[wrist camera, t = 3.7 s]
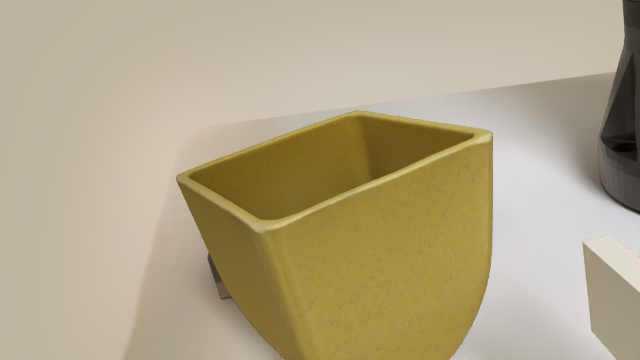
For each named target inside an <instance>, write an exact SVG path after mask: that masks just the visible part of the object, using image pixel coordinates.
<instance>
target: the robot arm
mask: <svg viewBox="0 0 640 360" xmlns="http://www.w3.org/2000/svg"><path fill="white" fill-rule="evenodd" d="M623 14H624V31H625V38H624V46H623V50H622V54H621V57H620V61H619V65H618V68H617V72H616V75H615V79H614V83H613V86H612V90H611V94H610V97H609V101H608V105H607V108H606V112H605V115H604V119H603V123H602V126H601V130H600V134H599V138H598V157H599V169H600V179H601V183H602V185H603V187H604V188H605V190H606V191H607V192H608V193H609V194H610V195H611V196H613V197H614V198H615V199H617V200H618V201H620V202H621V203H623V204H625V205H627V206H629V207H631V208H633V209H635V210H638V211H640V0H623ZM583 252H584V262H585V271H586V281H587V291H588V301H589V310H590V320H591V330H592V332H593V333H594V334H595V335H596V336H597V338H598V339H599V340H600V341H601V342H602V343H603V344H604V346H605V347H606V348H607V349H608V350H609V351H610V352H611V354H612V355H613V356H614V357H615V358H616V359H617V360H640V257H639V256H638V255H636V254H635V253H634V252H633V251H631V250H630V249H629V248H627V247H626V246H625V245H624V244H622V243H621V242H620V241H619V240H617V239H616V238H615V237H613V236H612V235H609V236H604V237H600V238H596V239H592V240H588V241H584V242H583Z"/></svg>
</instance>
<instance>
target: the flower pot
mask: <svg viewBox="0 0 640 360" xmlns="http://www.w3.org/2000/svg"><path fill="white" fill-rule="evenodd" d="M176 180H177V183H178V185H179V187H180V189H181V191H182V194H183V196H184V198H185V200H186V202H187V205H188V207H189V209H190V211H191V213H192V216H193V218H194V220H195V222H196V225H197V227H198V229H199V231H200V233H201V236H202V238H203V240H204V242H205V244H206V247H207V249H208V251H209V253H210V255H211V258H212V260H213V262H214V265H215V267H216V269H217V271H218V273H219V275H220V277H221V279H222V281H223V283H224V285H225V287H226V288H227V290H228V292H229V293H230V295H231V296H232V298H233V300H234V301H235V302H236V304H237V305H238V307H239V308H240V310H241V311H242V312H243V314H244V315H245V316H246V318H247V319H248V320H249V321H250V323H251V324H252V325H253V326H254V327H255V328H256V330H257V331H258V332H259V333H260V334H261V335H262V336H263V337H264V338H265V339H266V340H267V342H268V343H269V344H270V345H271V346H272V347H273V348H274V349H275V350H276V351H277V352H278V353H280V354H281V355H282V356H283V357H284V358H285V359H286V360H449V359H450V358H451V357H452V356H453V355H454V354H455V352H456V351H457V349H458V348H459V346H460V345H461V343H462V341H463V340H464V338H465V337H466V335H467V333H468V331H469V329H470V328H471V326H472V324H473V322H474V320H475V317H476V315H477V313H478V310H479V308H480V305H481V303H482V300H483V297H484V294H485V290H486V286H487V282H488V278H489V272H490V266H491V255H492V219H493V133H492V132H490V131H487V130H483V129H478V128H472V127H465V126H458V125H451V124H445V123H437V122H430V121H424V120H418V119H411V118H405V117H400V116H392V115H386V114H380V113H373V112H367V111H357V110H356V111H353V112H349V113H346V114H343V115H340V116H337V117H334V118H331V119H327V120H324V121H321V122H318V123H315V124H313V125H310V126H307V127H304V128H301V129H298V130H296V131H293V132H290V133H287V134H285V135H282V136H279V137H276V138H274V139H271V140H268V141H266V142H263V143H260V144H257V145H255V146H252V147H249V148H246V149H244V150H241V151H238V152H236V153H233V154H230V155H228V156H225V157H222V158H219V159H216V160H213V161H211V162H208V163H206V164H203V165H201V166H198V167H196V168H193V169H191V170H188V171H186V172H183V173H181V174H179V175H177V176H176Z"/></svg>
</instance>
